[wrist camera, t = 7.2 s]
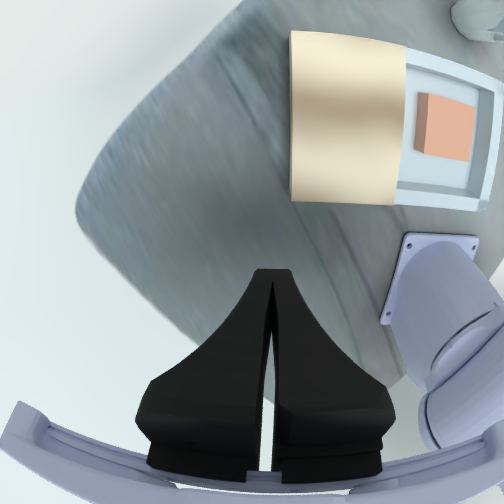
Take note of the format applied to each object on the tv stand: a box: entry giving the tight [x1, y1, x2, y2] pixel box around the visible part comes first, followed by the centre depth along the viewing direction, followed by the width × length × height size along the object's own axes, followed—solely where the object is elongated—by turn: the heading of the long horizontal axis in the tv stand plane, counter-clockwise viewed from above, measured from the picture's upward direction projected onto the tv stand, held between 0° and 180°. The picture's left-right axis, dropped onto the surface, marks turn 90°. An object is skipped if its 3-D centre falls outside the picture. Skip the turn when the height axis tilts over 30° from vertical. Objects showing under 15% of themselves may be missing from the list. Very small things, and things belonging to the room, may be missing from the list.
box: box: [394, 48, 504, 213], centre depth 15 cm, size 10×8×2 cm
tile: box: [414, 92, 475, 163], centre depth 14 cm, size 4×4×2 cm
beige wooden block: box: [289, 31, 406, 206], centre depth 15 cm, size 10×6×2 cm, turn 2°
